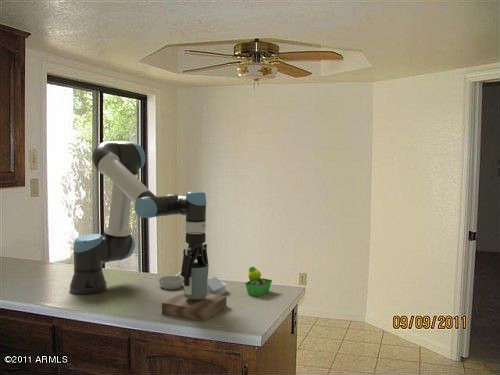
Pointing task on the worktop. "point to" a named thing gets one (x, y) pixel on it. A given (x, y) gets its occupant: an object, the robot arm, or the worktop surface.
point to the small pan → (171, 281)
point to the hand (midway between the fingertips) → (195, 290)
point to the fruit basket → (257, 283)
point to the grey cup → (198, 281)
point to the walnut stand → (194, 306)
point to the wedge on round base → (215, 286)
